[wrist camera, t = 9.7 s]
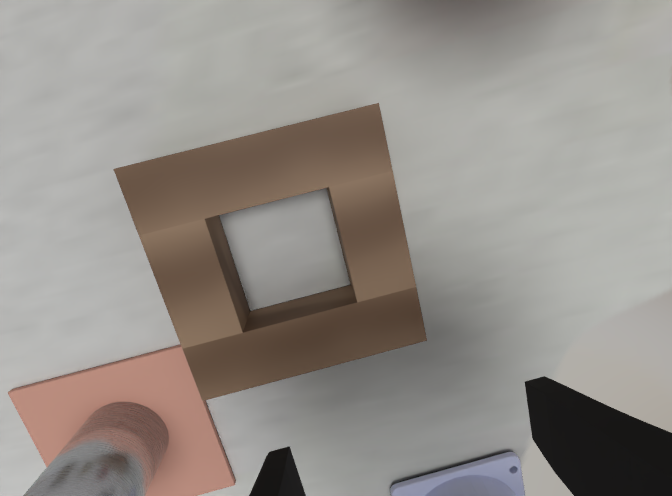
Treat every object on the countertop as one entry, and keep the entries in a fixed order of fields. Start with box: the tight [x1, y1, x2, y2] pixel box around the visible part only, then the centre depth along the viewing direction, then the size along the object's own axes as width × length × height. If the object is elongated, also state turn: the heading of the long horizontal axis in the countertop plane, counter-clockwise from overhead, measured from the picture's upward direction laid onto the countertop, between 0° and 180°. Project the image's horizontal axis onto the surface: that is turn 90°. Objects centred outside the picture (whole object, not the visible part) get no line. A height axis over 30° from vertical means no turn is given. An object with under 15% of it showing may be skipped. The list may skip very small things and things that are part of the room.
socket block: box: [114, 103, 427, 401], centre depth 18 cm, size 11×11×2 cm
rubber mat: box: [8, 345, 236, 496], centre depth 20 cm, size 9×9×1 cm
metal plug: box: [24, 402, 169, 496], centre depth 17 cm, size 4×4×6 cm
